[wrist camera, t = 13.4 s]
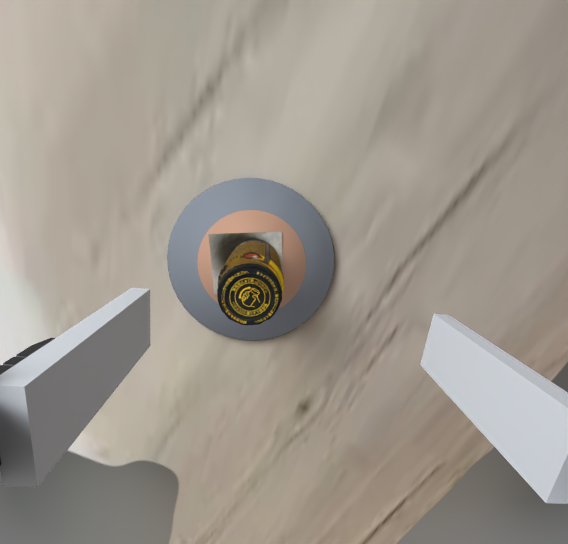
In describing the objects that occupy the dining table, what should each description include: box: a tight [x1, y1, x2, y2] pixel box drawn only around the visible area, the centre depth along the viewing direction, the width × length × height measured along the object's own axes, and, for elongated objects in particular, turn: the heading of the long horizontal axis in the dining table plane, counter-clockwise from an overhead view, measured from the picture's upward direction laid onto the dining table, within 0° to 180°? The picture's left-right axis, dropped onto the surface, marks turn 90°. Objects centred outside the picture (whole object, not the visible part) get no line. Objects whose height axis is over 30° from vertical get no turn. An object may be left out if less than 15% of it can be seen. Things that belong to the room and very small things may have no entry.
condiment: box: [208, 232, 284, 325], centre depth 28 cm, size 7×8×12 cm
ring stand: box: [167, 178, 334, 340], centre depth 35 cm, size 20×20×1 cm
